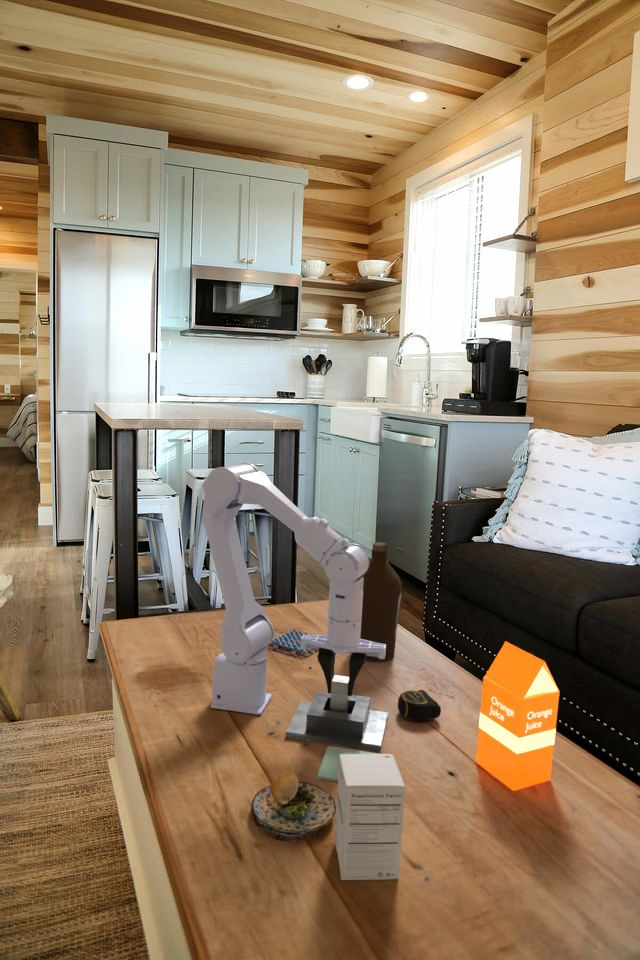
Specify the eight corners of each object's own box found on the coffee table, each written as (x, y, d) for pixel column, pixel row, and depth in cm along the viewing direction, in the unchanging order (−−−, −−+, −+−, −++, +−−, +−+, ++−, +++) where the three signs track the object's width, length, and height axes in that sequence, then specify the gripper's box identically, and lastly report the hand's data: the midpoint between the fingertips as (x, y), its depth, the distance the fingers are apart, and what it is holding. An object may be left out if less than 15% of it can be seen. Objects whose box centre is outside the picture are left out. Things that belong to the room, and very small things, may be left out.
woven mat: (264, 649, 157) (265, 640, 157) (291, 636, 166) (292, 628, 166) (303, 661, 152) (304, 652, 151) (329, 647, 161) (330, 638, 160)
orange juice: (513, 791, 106) (525, 665, 103) (474, 762, 114) (485, 643, 111) (551, 780, 110) (564, 657, 107) (511, 752, 118) (522, 637, 115)
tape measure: (441, 723, 127) (443, 703, 126) (406, 727, 125) (408, 707, 124) (424, 705, 133) (426, 687, 133) (391, 709, 131) (392, 690, 131)
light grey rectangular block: (329, 720, 121) (331, 681, 120) (332, 713, 124) (334, 674, 123) (345, 722, 121) (347, 683, 120) (347, 715, 124) (350, 676, 123)
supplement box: (333, 842, 93) (338, 752, 91) (388, 841, 93) (395, 752, 91) (339, 882, 85) (345, 785, 83) (399, 881, 86) (406, 785, 84)
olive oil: (356, 664, 150) (363, 549, 147) (343, 645, 161) (350, 538, 157) (403, 662, 153) (411, 549, 149) (388, 643, 163) (395, 538, 159)
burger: (327, 850, 91) (330, 797, 90) (239, 835, 93) (241, 783, 92) (341, 797, 103) (344, 749, 102) (263, 785, 105) (265, 738, 104)
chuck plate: (285, 737, 119) (286, 714, 118) (301, 705, 130) (302, 685, 130) (380, 751, 116) (381, 728, 115) (387, 717, 127) (389, 696, 127)
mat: (317, 778, 107) (317, 775, 107) (327, 748, 116) (327, 746, 116) (376, 787, 105) (376, 784, 105) (382, 756, 114) (382, 754, 114)
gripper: (297, 619, 118) (294, 696, 120) (384, 629, 115) (379, 708, 117) (306, 606, 124) (303, 679, 126) (389, 615, 122) (384, 690, 124)
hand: (340, 692), depth 122 cm, fingers closed on light grey rectangular block, 3 cm apart
